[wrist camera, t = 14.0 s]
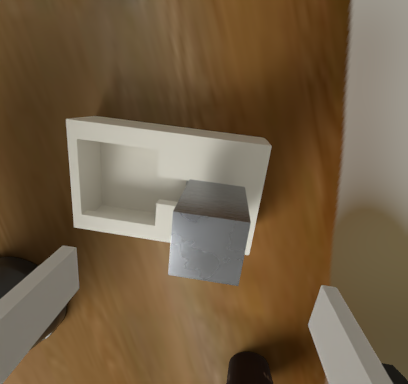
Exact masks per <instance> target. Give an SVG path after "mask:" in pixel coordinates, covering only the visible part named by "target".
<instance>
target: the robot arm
mask: <svg viewBox="0 0 408 384" xmlns="http://www.w3.org/2000/svg"><path fill="white" fill-rule="evenodd" d="M78 289H79V276H78V262H77V248H76V247H71V246H64V245H63V246H61V247H60V248H59V249H58V250H57V251H56V252H55V253H53V254H52V255H51V256H50V257H49V258H48V259H46V260H45V261H44V262H43V263H42V264H41V265H39V266H37V265H35V264H33V263H31V262H29V261H26V260H24V259H20V258H15V257H0V384H3V382H4V381H5V380H6V379H7V377H8V376H9V375H10V374H11V372H12V371H13V370H14V369H15V367H16V366H17V365H18V364H19V363H20V361H21V360H22V359H23V358H24V356H25V355H26V354H27V353H28V351H29V350H31V349H32V348H33V347H34V346H36V345H37V344H38V343H39V342H41V341H43V340H44V339H46V338H47V337H49V336H50V335H51V334H52V333H53V332H54V331H55V330H56V328H57V327H58V326H59V324H60V323H61V322H62V321H63V319H64V317H65V314H66V308H67V306H66V304H67V303H68V302H69V300H70V299H71V298H72V297H73V295H74V294H75V293H76V292H77V290H78ZM308 327H309V330H310V332H311V335H312V338H313V341H314V344H315V346H316V349H317V352H318V355H319V358H320V360H321V363H322V366H323V369H324V371H325V374H326V377H327V380H328V383H329V384H408V381H407V380H406V378H405V377H404V376H403V375H402V374H401V373H400V372H399V371H398V370H397V369H396V368H395V367H394V366H393V365H389V364H383V363H381V362H380V361H379V359H378V357H377V355H376V354H375V352H374V350H373V349H372V347H371V345H370V344H369V342H368V340H367V338H366V337H365V335H364V333H363V332H362V330H361V328H360V326H359V325H358V323H357V322H356V320H355V318H354V316H353V315H352V313H351V311H350V310H349V308H348V306H347V304H346V303H345V301H344V299H343V298H342V296H341V294H340V292H339V291H338V289H337V288H336V287H330V286H324V285H321V288H320V291H319V294H318V297H317V300H316V303H315V306H314V309H313V312H312V315H311V318H310V320H309V323H308Z"/></svg>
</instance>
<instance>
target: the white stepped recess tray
mask: <svg viewBox="0 0 408 384" xmlns="http://www.w3.org/2000/svg"><path fill="white" fill-rule="evenodd" d="M66 129H67V142H68V155H69V168H70V182H71V195H72V208H73V221H74V228H81V229H87V230H93V231H100V232H106V233H112V234H118V235H125V236H131V237H137V238H144V239H150V240H156V241H162V242H169V243H171V231H172V218H173V210H174V208H175V207H176V205H177V203H178V201H179V199H180V197H181V195H182V193H183V191H184V189H185V187H186V182H187V181H189V180H190V179H191V180H198V181H205V182H213V183H220V184H227V185H235V186H242V187H245V191H246V197H247V203H248V209H249V215H250V221H251V224H250V229H249V234H248V239H247V244H246V249H245V254H244V255H249V253H250V248H251V244H252V239H253V234H254V229H255V224H256V220H257V215H258V210H259V205H260V201H261V196H262V191H263V186H264V181H265V177H266V172H267V167H268V162H269V157H270V153H271V148H272V145H271V144H270V143H269V142H268V141H267V140H266V139H265V138H262V137H255V136H247V135H239V134H232V133H224V132H216V131H209V130H201V129H193V128H185V127H178V126H170V125H162V124H155V123H147V122H139V121H132V120H124V119H116V118H108V117H101V116H89V117H79V118H69V119H66Z"/></svg>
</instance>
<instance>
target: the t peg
mask: <svg viewBox="0 0 408 384" xmlns="http://www.w3.org/2000/svg"><path fill="white" fill-rule="evenodd" d="M250 224H251V221H250V215H249V209H248V203H247V197H246V191H245V187H242V186H235V185H227V184H220V183H213V182H205V181H198V180H191V179H190V180H189V181H187V182H186V187H185V189H184V191H183V193H182V195H181V197H180V199H179V201H178V203H177V205H176V207H175V208H174V210H173V218H172V231H171V245H170V258H169V272H168V275H173V276H179V277H185V278H192V279H198V280H204V281H211V282H217V283H223V284H229V285H236V286H238V285H239V279H240V274H241V269H242V264H243V259H244V254H245V249H246V244H247V239H248V234H249V229H250Z"/></svg>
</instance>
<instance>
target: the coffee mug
mask: <svg viewBox="0 0 408 384" xmlns="http://www.w3.org/2000/svg"><path fill="white" fill-rule="evenodd" d="M226 384H273V381H272V377H271V373H270V369H269V366H268V363H267V361H266V359H265V358H264V357H262V356H261V355H259V354H257V353H253V352H241V353H238V354H236V355H234V356H233V357H232V358H231V359H230V362H229V368H228V376H227V383H226Z"/></svg>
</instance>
